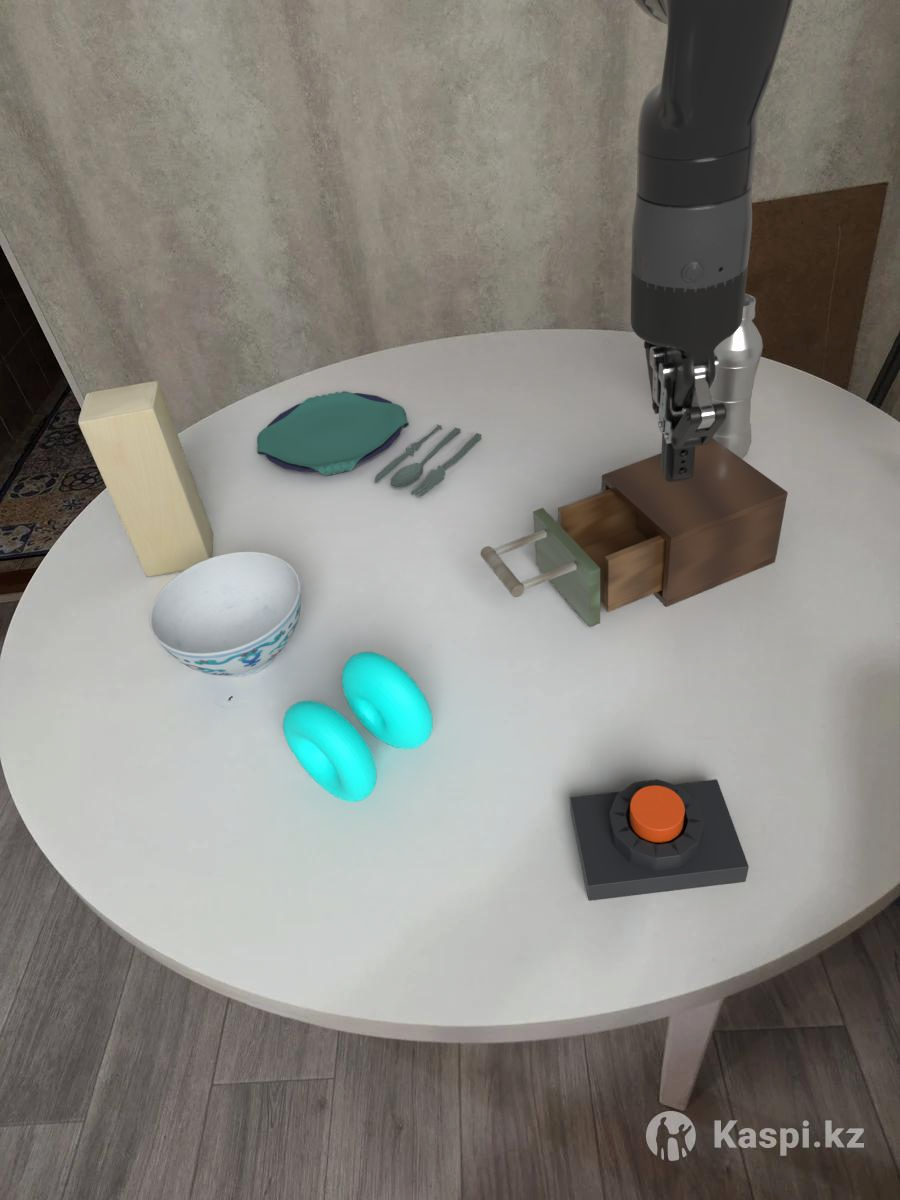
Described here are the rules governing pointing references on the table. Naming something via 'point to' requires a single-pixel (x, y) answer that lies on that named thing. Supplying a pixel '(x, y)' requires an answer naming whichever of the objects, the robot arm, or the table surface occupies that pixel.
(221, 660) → the chinaware
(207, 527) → the tall cream wooden block
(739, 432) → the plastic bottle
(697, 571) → the cabinet
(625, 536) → the drawer
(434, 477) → the cutlery set
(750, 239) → the robot arm
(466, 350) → the table surface
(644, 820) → the button
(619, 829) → the control block
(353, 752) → the donuts
